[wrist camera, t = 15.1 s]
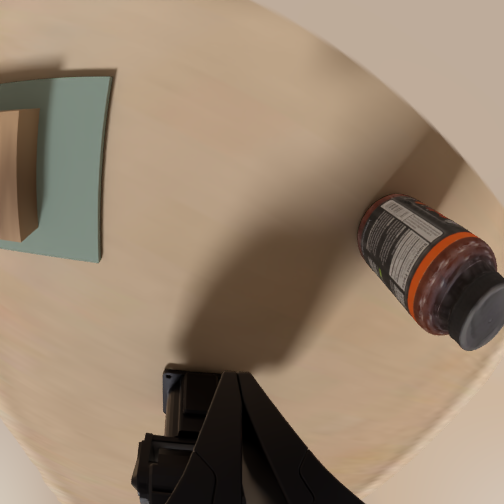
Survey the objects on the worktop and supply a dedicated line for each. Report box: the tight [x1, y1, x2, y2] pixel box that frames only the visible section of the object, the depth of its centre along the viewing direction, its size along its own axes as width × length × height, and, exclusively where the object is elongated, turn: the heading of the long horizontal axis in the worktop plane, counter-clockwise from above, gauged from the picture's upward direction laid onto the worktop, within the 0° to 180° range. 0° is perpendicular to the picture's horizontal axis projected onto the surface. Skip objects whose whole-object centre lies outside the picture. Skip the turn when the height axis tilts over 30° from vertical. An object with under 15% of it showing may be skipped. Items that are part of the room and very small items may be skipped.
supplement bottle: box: [357, 194, 504, 351], centre depth 16 cm, size 6×6×11 cm
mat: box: [0, 77, 113, 263], centre depth 16 cm, size 12×12×1 cm
